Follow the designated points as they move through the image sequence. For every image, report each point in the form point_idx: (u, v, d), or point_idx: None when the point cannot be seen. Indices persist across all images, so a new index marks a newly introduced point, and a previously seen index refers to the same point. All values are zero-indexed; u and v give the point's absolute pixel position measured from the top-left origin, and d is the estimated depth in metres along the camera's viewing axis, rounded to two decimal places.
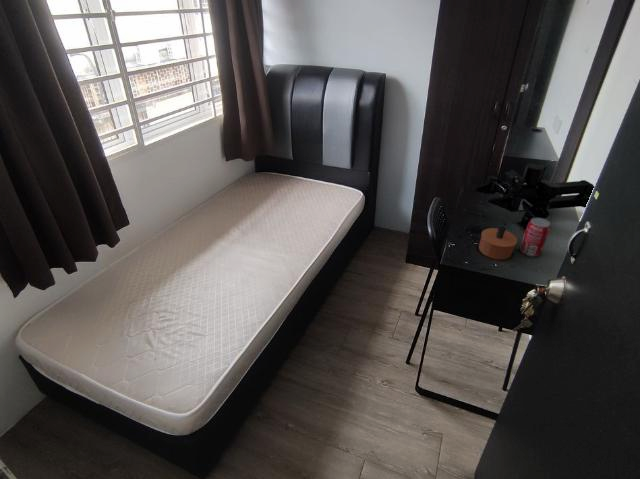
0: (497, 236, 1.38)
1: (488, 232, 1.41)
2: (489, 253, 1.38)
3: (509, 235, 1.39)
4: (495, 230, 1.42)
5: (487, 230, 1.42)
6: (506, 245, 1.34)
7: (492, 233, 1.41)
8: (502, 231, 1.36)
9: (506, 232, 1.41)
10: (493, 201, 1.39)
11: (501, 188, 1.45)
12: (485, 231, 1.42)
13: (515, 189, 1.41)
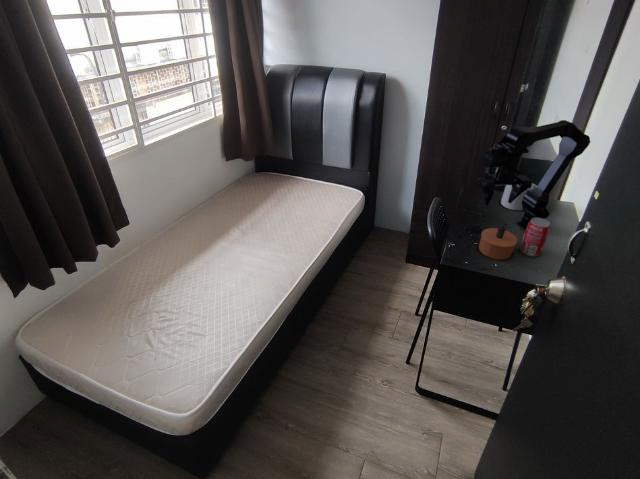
0: (497, 236, 1.38)
1: (488, 232, 1.41)
2: (489, 253, 1.38)
3: (509, 235, 1.39)
4: (495, 230, 1.42)
5: (487, 230, 1.42)
6: (506, 245, 1.34)
7: (492, 233, 1.41)
8: (502, 231, 1.36)
9: (506, 232, 1.41)
10: (486, 200, 1.43)
11: None
12: (485, 231, 1.42)
13: (494, 173, 1.40)
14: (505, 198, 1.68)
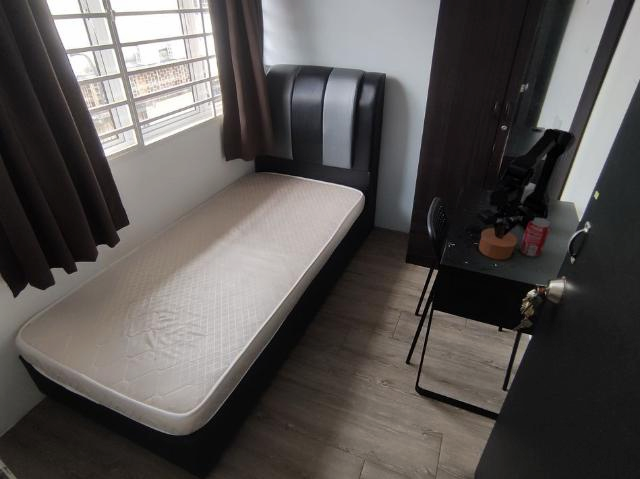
0: None
1: (488, 232, 1.41)
2: (489, 253, 1.38)
3: (509, 235, 1.39)
4: None
5: (487, 230, 1.42)
6: (506, 245, 1.34)
7: (492, 233, 1.41)
8: (502, 231, 1.36)
9: None
10: (496, 232, 1.37)
11: None
12: (485, 231, 1.42)
13: (496, 205, 1.34)
14: None
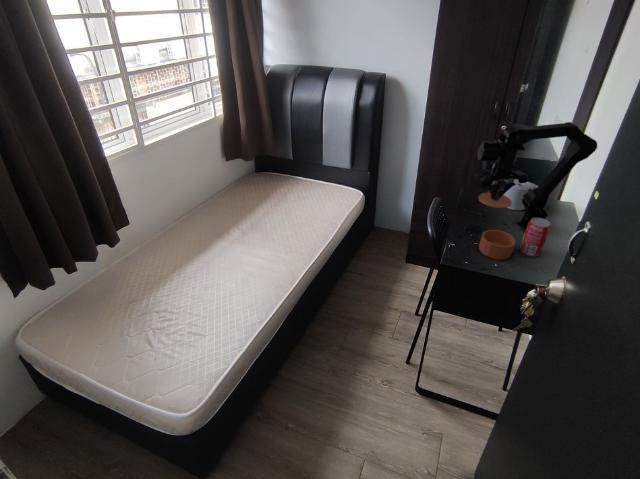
0: None
1: (485, 195, 1.52)
2: (489, 253, 1.38)
3: (504, 198, 1.51)
4: None
5: (484, 194, 1.53)
6: (501, 206, 1.45)
7: (488, 196, 1.52)
8: (497, 193, 1.47)
9: None
10: (492, 194, 1.48)
11: None
12: (482, 195, 1.53)
13: (492, 169, 1.45)
14: None
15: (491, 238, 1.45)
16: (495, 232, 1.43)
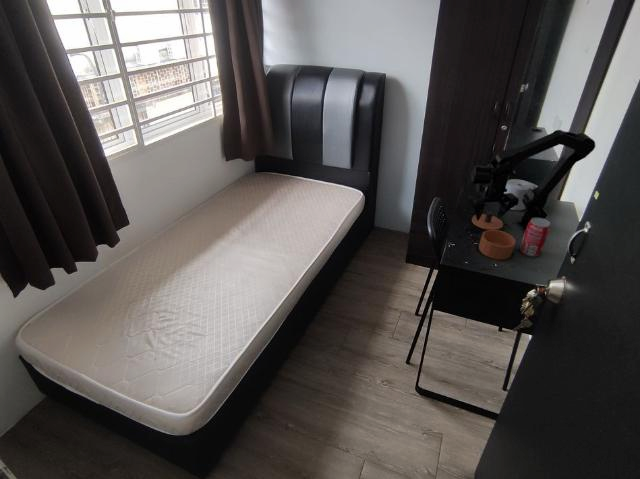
0: (485, 220, 1.56)
1: None
2: (489, 253, 1.38)
3: (496, 220, 1.58)
4: (484, 215, 1.61)
5: None
6: (493, 228, 1.53)
7: (481, 218, 1.59)
8: (490, 216, 1.54)
9: (494, 217, 1.59)
10: (477, 216, 1.54)
11: None
12: (475, 216, 1.60)
13: (484, 192, 1.52)
14: None
15: (491, 238, 1.45)
16: (495, 232, 1.43)
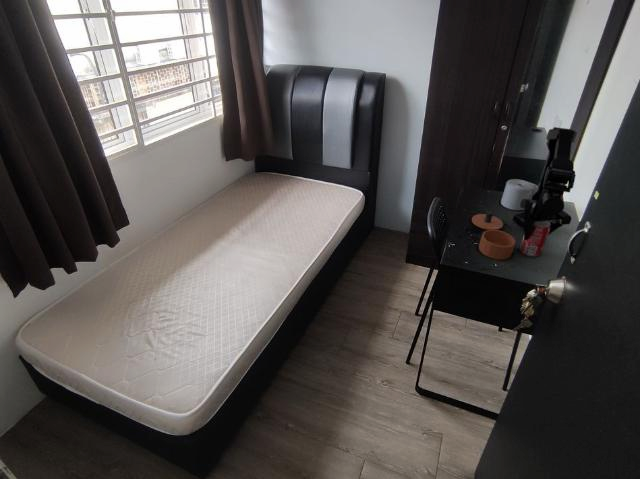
0: (485, 220, 1.56)
1: (478, 217, 1.59)
2: (489, 253, 1.38)
3: (496, 220, 1.58)
4: (484, 215, 1.61)
5: (477, 215, 1.61)
6: (493, 228, 1.53)
7: (481, 218, 1.59)
8: (490, 216, 1.54)
9: (494, 217, 1.59)
10: (526, 236, 1.36)
11: None
12: (475, 216, 1.60)
13: (532, 209, 1.34)
14: (505, 198, 1.68)
15: (491, 238, 1.45)
16: (495, 232, 1.43)
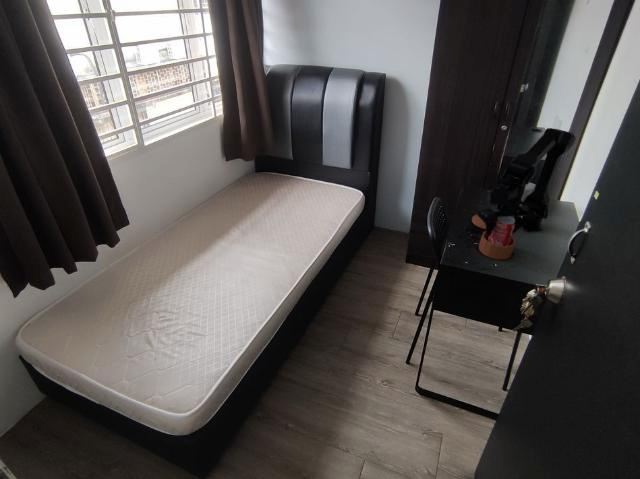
0: None
1: (478, 217, 1.59)
2: (489, 253, 1.38)
3: None
4: None
5: None
6: None
7: None
8: None
9: None
10: (488, 232, 1.36)
11: None
12: (475, 216, 1.60)
13: None
14: None
15: None
16: None
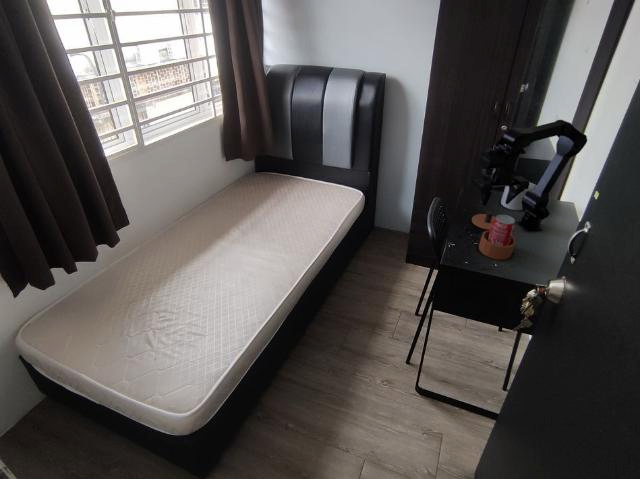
0: (485, 220, 1.56)
1: (478, 217, 1.59)
2: (489, 253, 1.38)
3: None
4: (484, 215, 1.61)
5: (477, 215, 1.61)
6: None
7: (481, 218, 1.59)
8: (490, 216, 1.54)
9: (494, 217, 1.59)
10: (484, 201, 1.42)
11: None
12: (475, 216, 1.60)
13: (492, 174, 1.40)
14: (505, 198, 1.68)
15: None
16: None
